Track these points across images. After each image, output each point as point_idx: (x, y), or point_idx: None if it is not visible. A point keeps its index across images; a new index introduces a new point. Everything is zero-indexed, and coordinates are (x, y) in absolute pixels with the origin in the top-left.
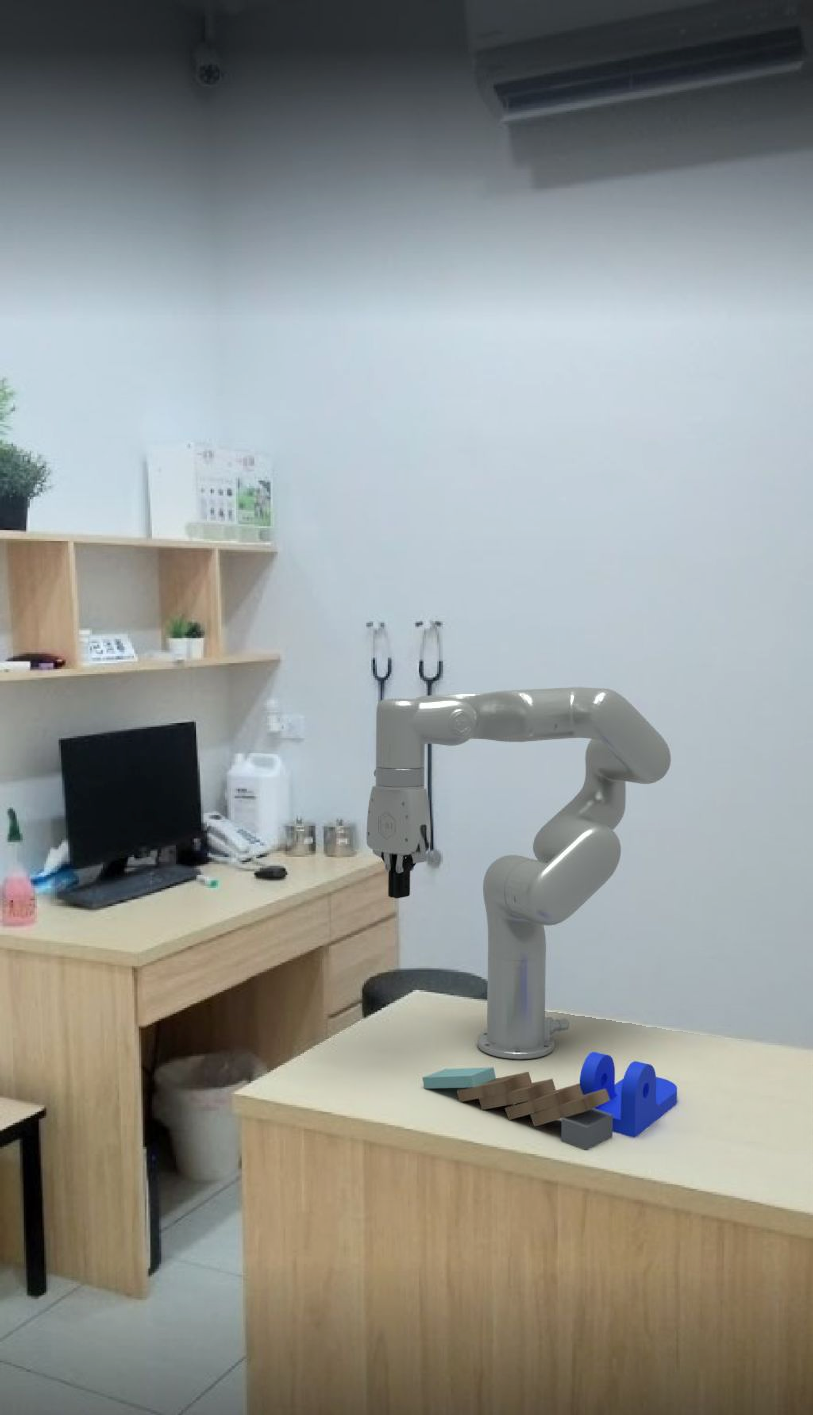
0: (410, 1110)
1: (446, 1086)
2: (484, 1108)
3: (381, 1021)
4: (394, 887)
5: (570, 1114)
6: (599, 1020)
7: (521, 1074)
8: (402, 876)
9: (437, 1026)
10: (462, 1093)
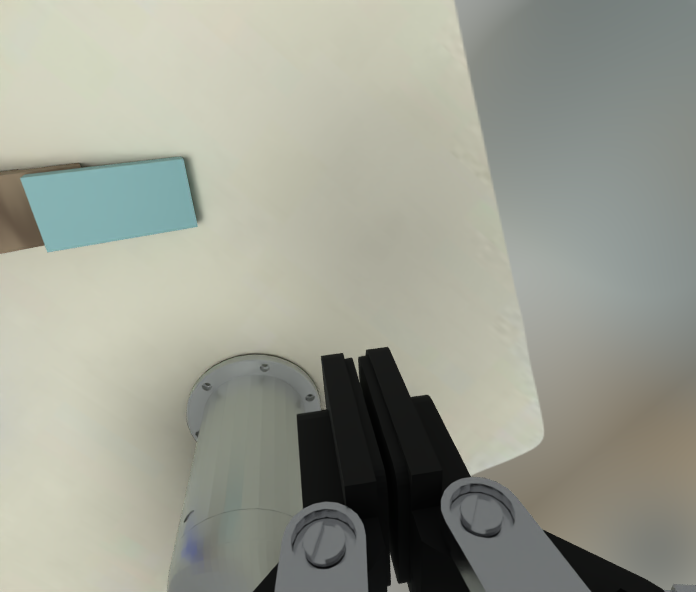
0: (88, 45)
1: (112, 164)
2: (9, 170)
3: (504, 317)
4: (339, 393)
5: None
6: None
7: None
8: (304, 501)
9: (416, 373)
10: (62, 166)
